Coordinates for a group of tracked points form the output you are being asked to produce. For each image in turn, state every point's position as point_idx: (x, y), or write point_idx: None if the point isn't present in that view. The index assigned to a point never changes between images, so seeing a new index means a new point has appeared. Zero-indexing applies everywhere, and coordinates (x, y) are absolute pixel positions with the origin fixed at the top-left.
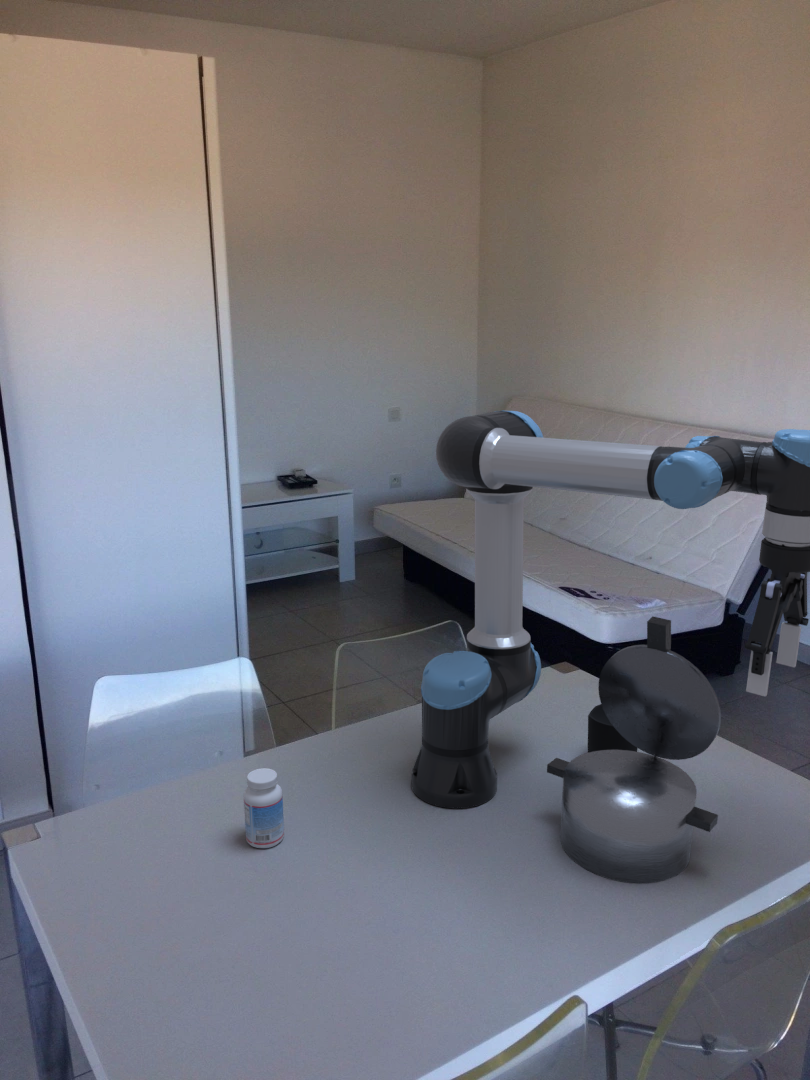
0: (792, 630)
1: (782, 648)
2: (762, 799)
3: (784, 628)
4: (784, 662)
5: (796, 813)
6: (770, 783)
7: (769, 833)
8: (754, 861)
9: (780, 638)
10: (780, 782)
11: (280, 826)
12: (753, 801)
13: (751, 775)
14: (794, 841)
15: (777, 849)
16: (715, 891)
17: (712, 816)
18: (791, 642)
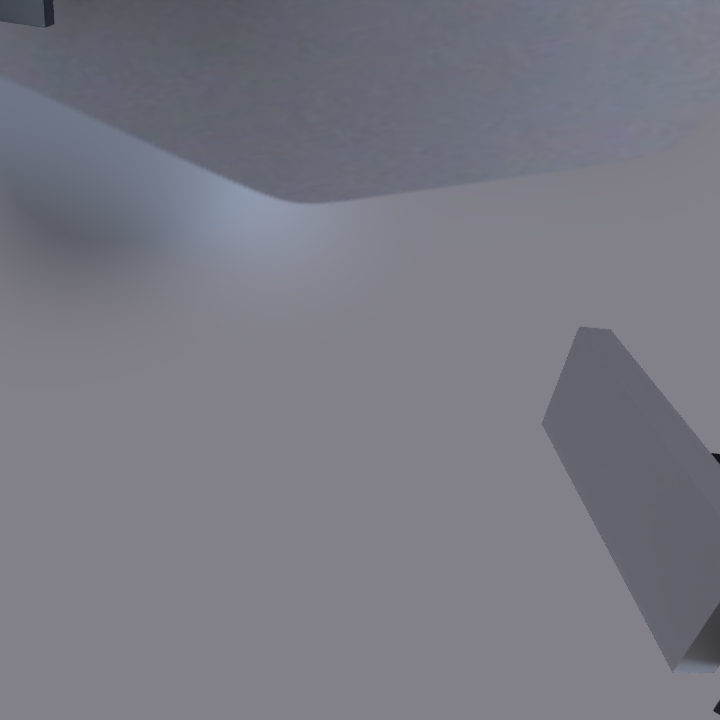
0: (677, 593)
1: (618, 419)
2: (558, 67)
3: (708, 544)
4: (568, 381)
5: (516, 164)
6: (660, 73)
7: (382, 117)
8: (224, 104)
9: (665, 451)
10: (675, 99)
11: None
12: (536, 44)
13: (695, 9)
14: (375, 180)
15: (315, 148)
16: (16, 34)
17: (18, 11)
18: (622, 512)
